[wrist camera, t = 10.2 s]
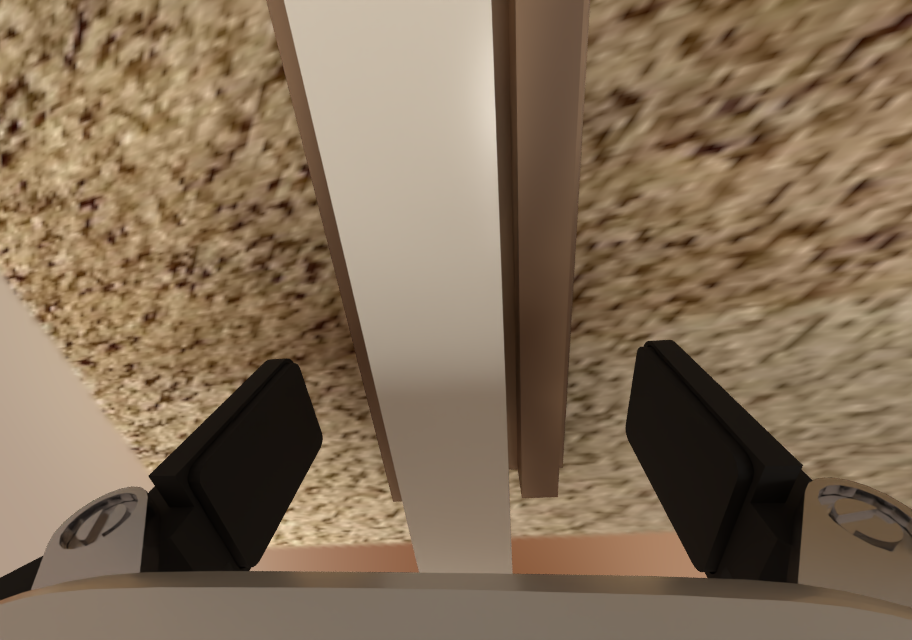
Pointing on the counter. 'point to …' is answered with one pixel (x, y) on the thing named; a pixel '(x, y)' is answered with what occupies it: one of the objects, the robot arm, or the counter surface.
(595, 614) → the robot arm
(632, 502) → the counter surface
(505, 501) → the white rectangular slab
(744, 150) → the counter surface
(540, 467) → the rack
